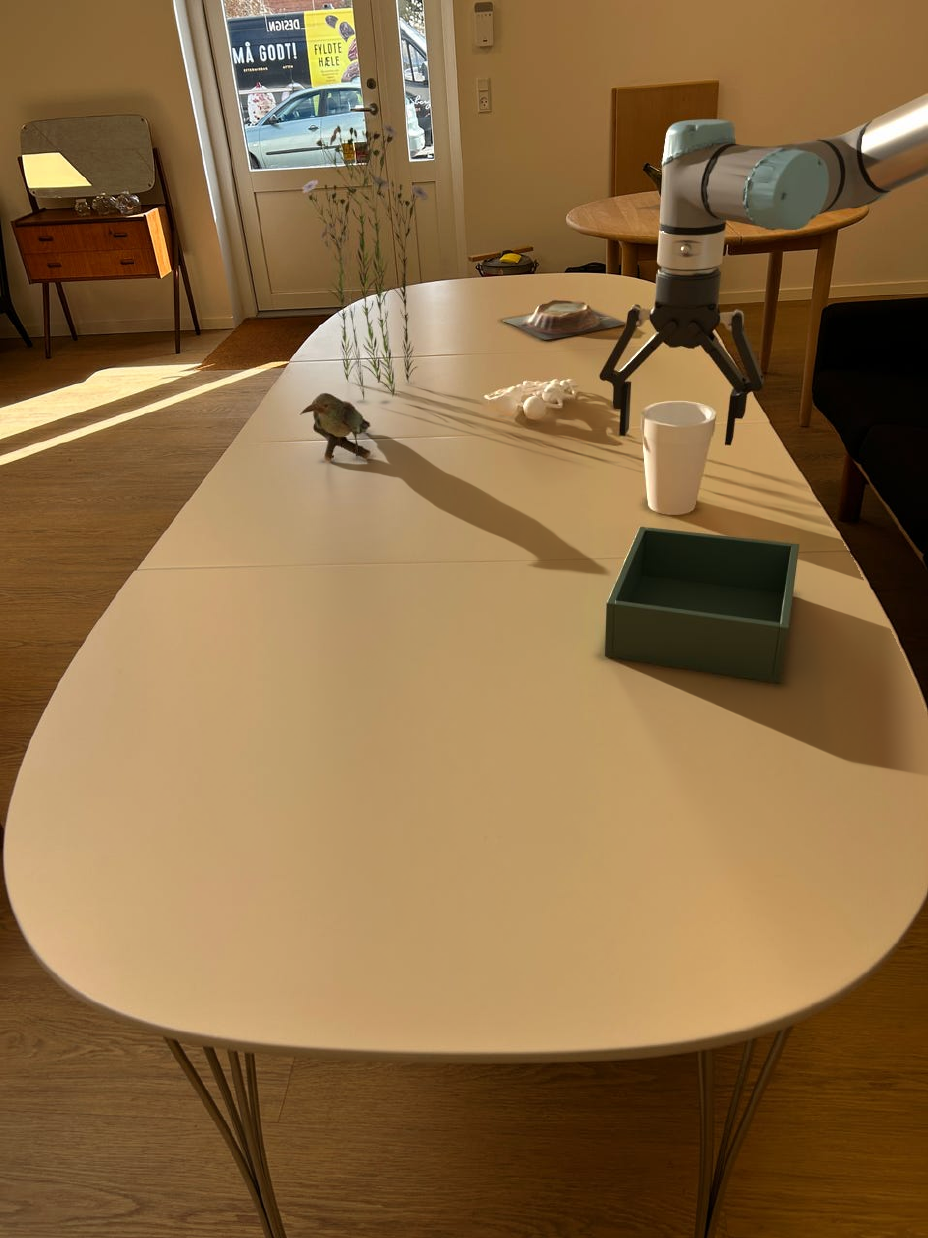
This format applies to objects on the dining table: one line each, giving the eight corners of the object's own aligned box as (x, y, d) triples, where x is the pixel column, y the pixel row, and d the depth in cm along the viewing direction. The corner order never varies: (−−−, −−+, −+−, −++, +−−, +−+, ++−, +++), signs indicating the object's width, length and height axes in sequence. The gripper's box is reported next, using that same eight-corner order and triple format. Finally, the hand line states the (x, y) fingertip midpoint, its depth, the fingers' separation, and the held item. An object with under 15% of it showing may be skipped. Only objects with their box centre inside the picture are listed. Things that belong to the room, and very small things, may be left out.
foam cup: (644, 487, 132) (648, 398, 125) (710, 493, 129) (719, 402, 122) (631, 516, 125) (635, 423, 118) (701, 523, 122) (710, 429, 115)
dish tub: (791, 595, 106) (799, 543, 103) (779, 683, 92) (788, 628, 89) (637, 575, 112) (639, 526, 108) (604, 656, 98) (606, 603, 94)
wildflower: (345, 369, 186) (314, 114, 162) (455, 373, 180) (439, 109, 156) (299, 408, 168) (256, 127, 144) (419, 414, 162) (395, 122, 138)
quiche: (580, 306, 218) (580, 288, 216) (628, 325, 202) (628, 306, 200) (500, 320, 211) (499, 302, 209) (543, 341, 195) (542, 322, 193)
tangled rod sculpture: (528, 387, 174) (526, 365, 172) (598, 391, 167) (597, 368, 165) (471, 418, 161) (469, 394, 159) (544, 424, 153) (543, 399, 151)
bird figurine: (335, 423, 158) (300, 340, 140) (391, 426, 156) (362, 343, 138) (316, 489, 153) (277, 411, 135) (374, 493, 150) (341, 415, 133)
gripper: (578, 271, 112) (575, 439, 123) (797, 278, 104) (772, 456, 115) (593, 257, 117) (588, 418, 129) (801, 263, 110) (777, 434, 121)
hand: (675, 436), depth 122 cm, fingers open, 13 cm apart
